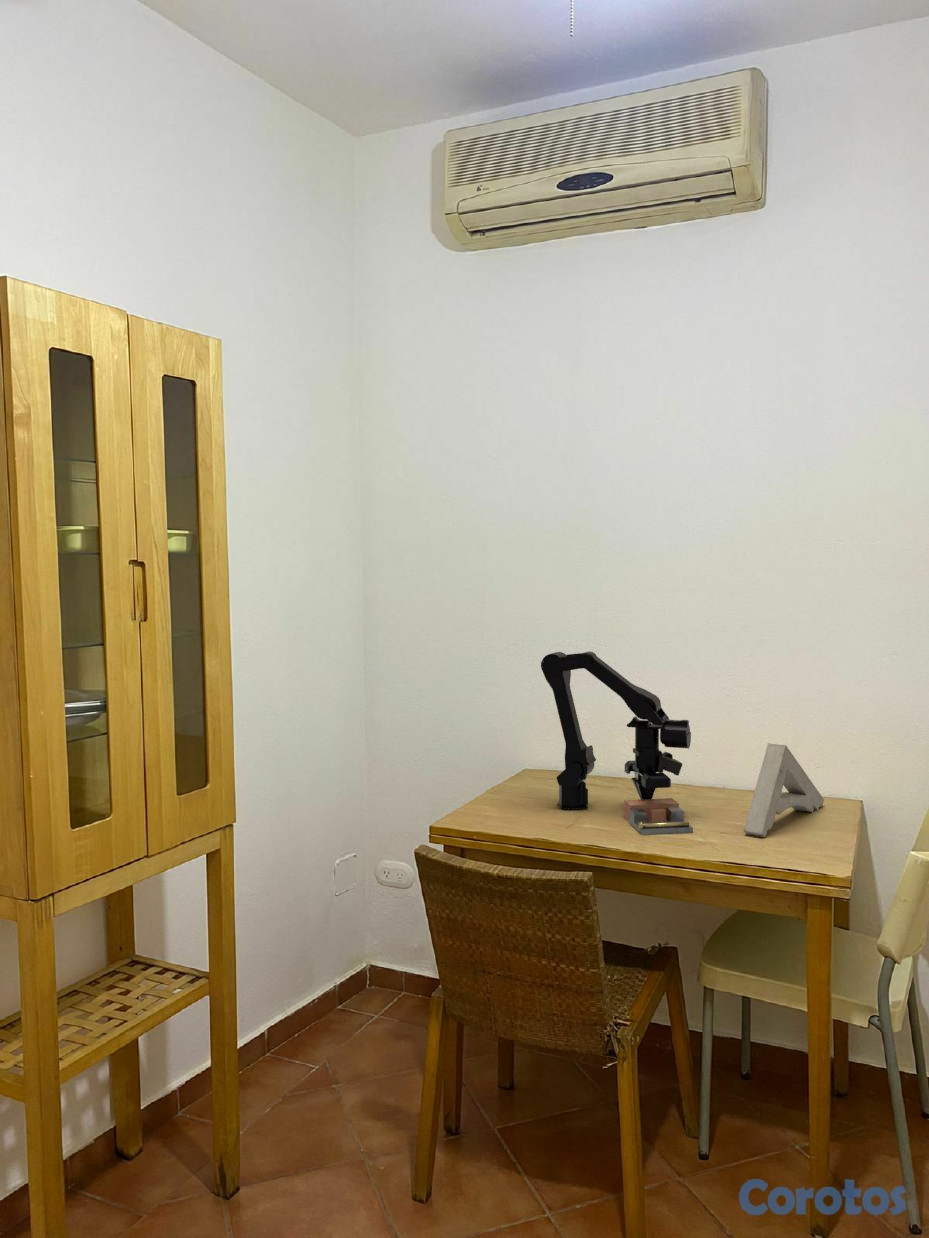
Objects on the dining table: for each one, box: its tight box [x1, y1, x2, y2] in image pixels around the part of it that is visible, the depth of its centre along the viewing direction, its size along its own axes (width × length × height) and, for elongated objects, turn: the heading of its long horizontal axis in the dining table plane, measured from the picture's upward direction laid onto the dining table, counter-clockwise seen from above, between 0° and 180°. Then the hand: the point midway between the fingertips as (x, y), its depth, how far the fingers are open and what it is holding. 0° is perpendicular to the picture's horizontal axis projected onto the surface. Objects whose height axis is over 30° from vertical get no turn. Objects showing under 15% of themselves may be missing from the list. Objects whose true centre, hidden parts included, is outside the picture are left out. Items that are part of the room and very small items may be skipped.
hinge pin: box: [639, 821, 690, 829], centre depth 226 cm, size 12×2×2 cm, turn 96°
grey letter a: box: [743, 743, 825, 838], centre depth 236 cm, size 22×4×30 cm
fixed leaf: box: [629, 806, 694, 836], centre depth 230 cm, size 12×10×4 cm
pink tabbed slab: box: [623, 797, 680, 822], centre depth 237 cm, size 12×8×4 cm, turn 98°
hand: (646, 808), depth 243 cm, fingers closed
